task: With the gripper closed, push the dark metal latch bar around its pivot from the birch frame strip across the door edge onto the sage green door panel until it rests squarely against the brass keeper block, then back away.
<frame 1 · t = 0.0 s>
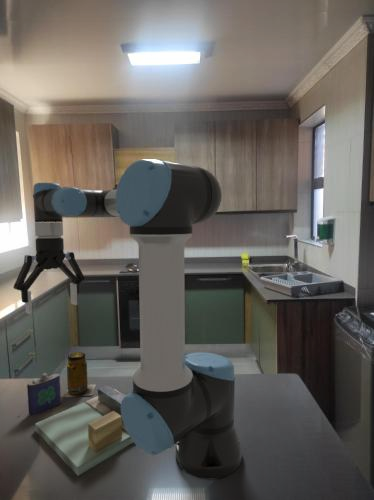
hand: (52, 308, 98), 28 cm above the countertop, tool pointing down, fingers open, 13 cm apart
latch frame: (99, 427, 86), on the countertop
flask: (45, 409, 95), on the countertop
condiment: (80, 391, 105), on the countertop
latch bar: (117, 401, 90), point 5 cm above the countertop, hinge at 0.0°
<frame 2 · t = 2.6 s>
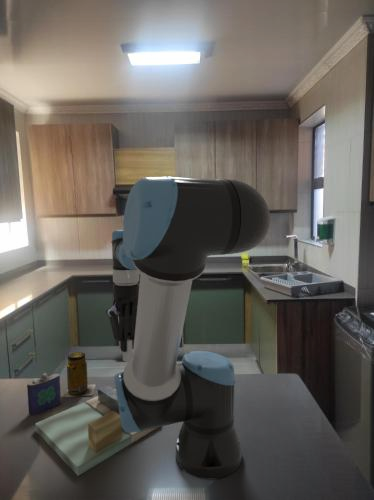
hand: (127, 360, 98), 12 cm above the countertop, tool pointing down, fingers closed
nothing on the countertop moved.
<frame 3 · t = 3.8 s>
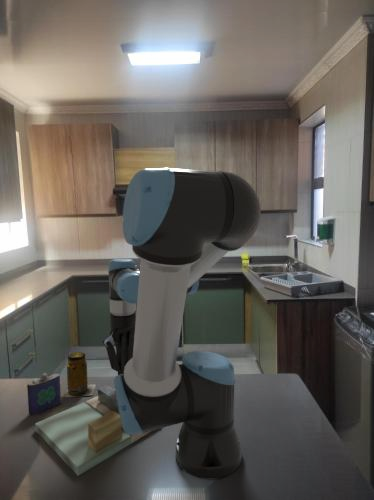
hand: (124, 390, 98), 4 cm above the countertop, tool pointing down, fingers closed
nothing on the countertop moved.
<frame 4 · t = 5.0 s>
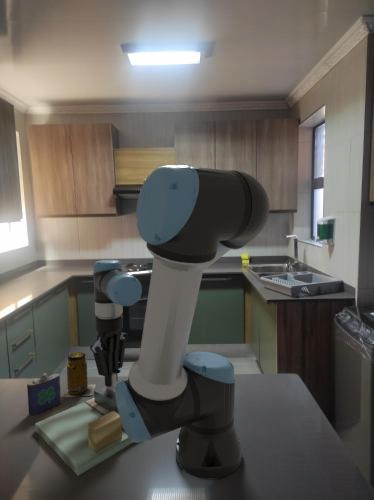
hand: (111, 395, 95), 4 cm above the countertop, tool pointing down, fingers closed
latch bar: (115, 402, 90), point 5 cm above the countertop, hinge at 5.8°, touching gripper
everything else where it was.
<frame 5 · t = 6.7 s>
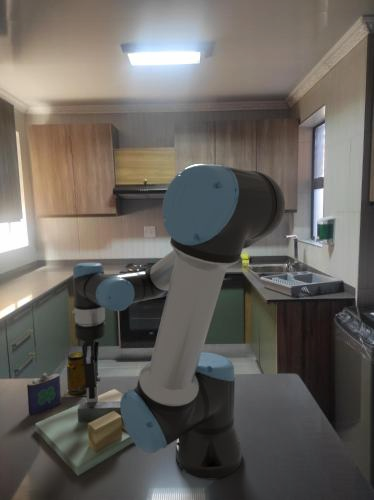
hand: (92, 407, 88), 4 cm above the countertop, tool pointing down, fingers closed
latch bar: (108, 410, 86), point 5 cm above the countertop, hinge at 46.6°, touching gripper
everything else where it was.
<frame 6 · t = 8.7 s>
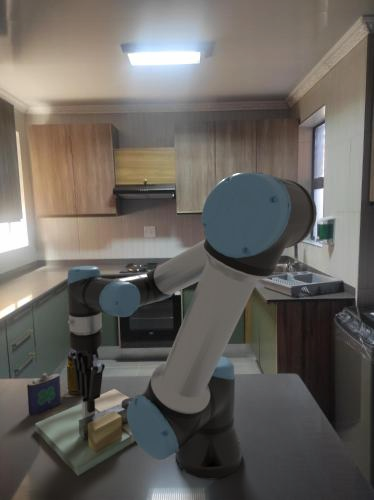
hand: (89, 421, 82), 4 cm above the countertop, tool pointing down, fingers closed
latch bar: (110, 417, 83), point 5 cm above the countertop, hinge at 82.6°, touching gripper
everything else where it was.
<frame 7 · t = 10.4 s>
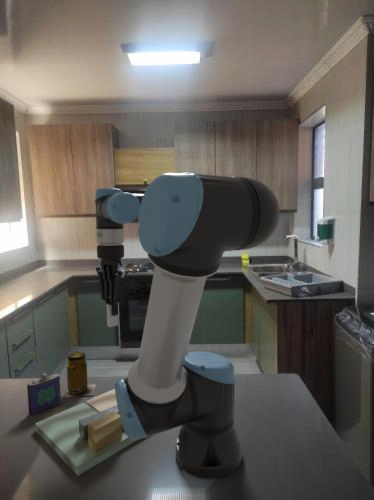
hand: (112, 325, 95), 24 cm above the countertop, tool pointing down, fingers closed
latch bar: (110, 417, 83), point 4 cm above the countertop, hinge at 82.7°
everything else where it was.
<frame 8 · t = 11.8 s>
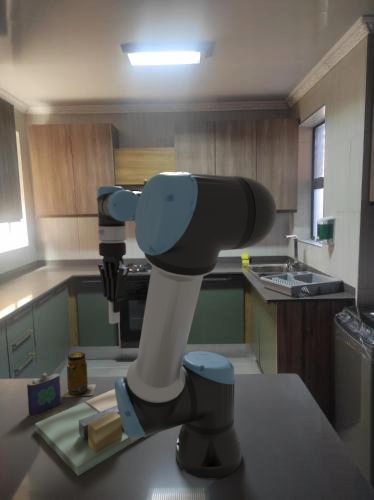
hand: (114, 322, 96), 24 cm above the countertop, tool pointing down, fingers closed
nothing on the countertop moved.
at the end: latch bar at +83° (first picture: +0°); condiment moved 0.3 cm from its start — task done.
